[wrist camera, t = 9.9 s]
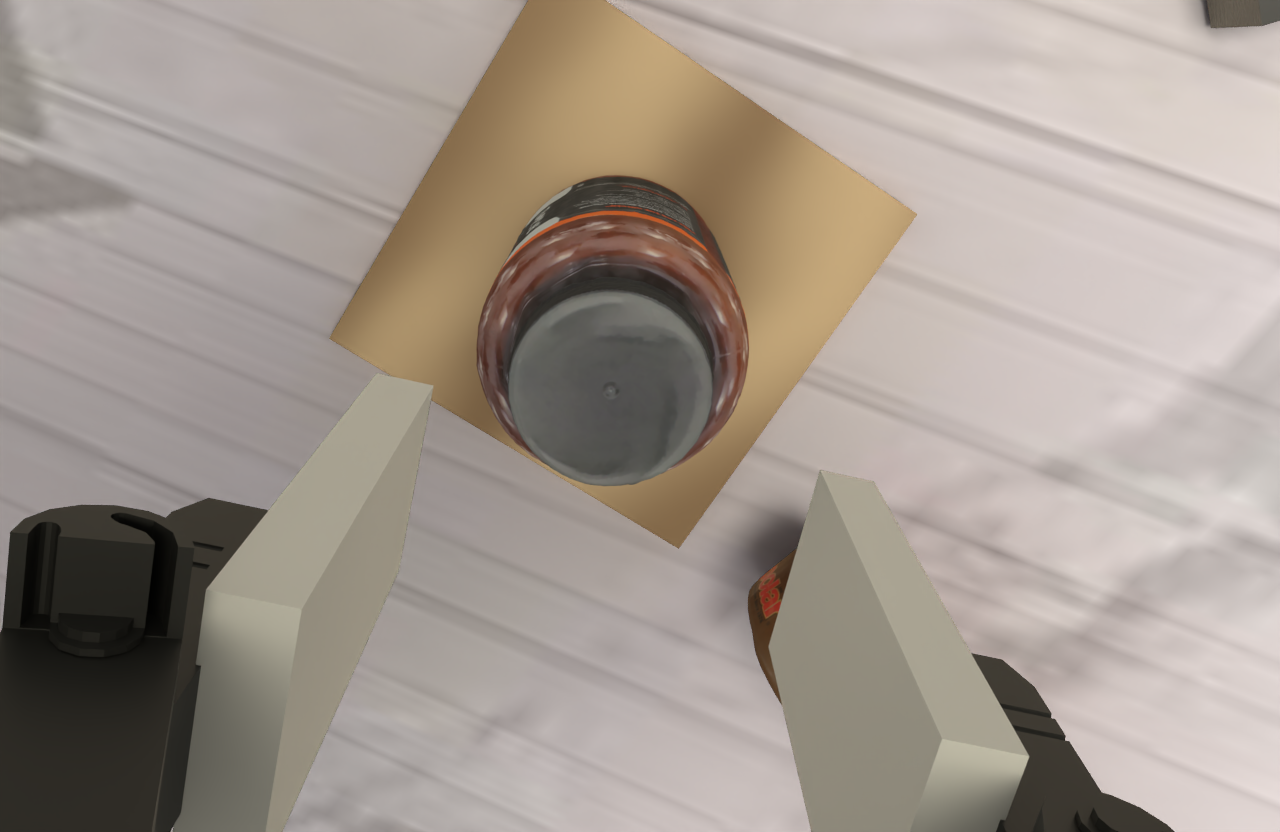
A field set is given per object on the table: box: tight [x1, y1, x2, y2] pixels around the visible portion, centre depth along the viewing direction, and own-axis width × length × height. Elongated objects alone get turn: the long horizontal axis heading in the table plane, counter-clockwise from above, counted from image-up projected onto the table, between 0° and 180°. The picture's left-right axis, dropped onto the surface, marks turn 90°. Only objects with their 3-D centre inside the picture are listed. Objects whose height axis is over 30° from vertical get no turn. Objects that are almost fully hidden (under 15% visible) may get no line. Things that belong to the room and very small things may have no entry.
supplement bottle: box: [476, 175, 749, 486], centre depth 28 cm, size 6×6×11 cm
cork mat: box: [329, 0, 917, 549], centre depth 34 cm, size 12×12×1 cm
